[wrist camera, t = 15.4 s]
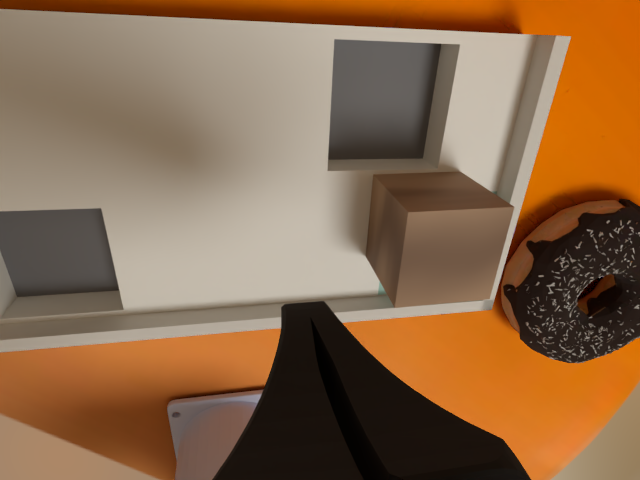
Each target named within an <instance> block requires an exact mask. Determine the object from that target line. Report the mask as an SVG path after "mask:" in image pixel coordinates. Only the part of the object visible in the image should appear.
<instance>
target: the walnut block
mask: <svg viewBox="0 0 640 480" xmlns="http://www.w3.org/2000/svg"><path fill="white" fill-rule="evenodd" d="M513 211H514V206H512V205H511V204H509V203H508V202H506V201H505V200H503V199H502V198H500V197H499V196H497V195H495V194H494V193H492V192H491V191H489V190H488V189H486V188H485V187H483V186H482V185H480V184H479V183H477V182H476V181H474V180H473V179H471V178H470V177H468V176H467V175H465V174H463V173H462V172H430V173H400V174H373V182H372V193H371V203H370V214H369V225H368V236H367V246H366V258H367V260H368V262H369V263H370V265H371V267H372V269H373V270H374V272H375V274H376V276H377V277H378V279H379V281H380V283H381V285H382V286H383V288H384V290H385V292H386V293H387V295H388V297H389V299H390V301H391V302H392V304H393V306H394V308H401V307H411V306H422V305H433V304H443V303H454V302H465V301H476V300H486V299H490V296H491V292H492V289H493V285H494V281H495V278H496V274H497V270H498V267H499V263H500V259H501V255H502V252H503V248H504V244H505V241H506V237H507V233H508V229H509V226H510V222H511V218H512V215H513Z"/></svg>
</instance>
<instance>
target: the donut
mask: <svg viewBox="0 0 640 480" xmlns="http://www.w3.org/2000/svg"><path fill="white" fill-rule="evenodd" d="M598 277H599V278H601V277H603V278H602V279H601V280H600V281H599V282H598V284H597V285H596V287H595V288H594V290H593V291H591V292H590V293H589V294H587V295H586V296H585V297H583V298H581V299H579V300H578V296H579V294H580V293H581V292H582V291H583V290H584V288H585V287H586V286H587V285H588V284H589V283H590V282H591V281H593V280H595V279H596V278H598ZM501 300H502V306H503V310H504V312H505V314H506V316H507V318H508V320H509V322H510V324H511V326H512V327H513V328H514V329H515V330H516V331H517V332H518V333H519V334H520V339H521V340H522V341H523V342H524V343H525V344H526V345H527V346H529V347H530V348H531V349H533V350H534V351H536V352H538V353H541V354H543V355H545V356H547V357H549V358H550V359H554V360H559V361H563V362H567V363H581V362H582V363H583V362H585V361H588V360H591V359H594V358H597V357H600V356H604V355H606V354H608V353H612V352H613V351H615V350H619V348H621V347H623V346H625V345H626V344H629V343H630V342H631V341H633V340H634V339H636V338H639V337H640V207H639V206H638V205H636V204H635V203H633V202H631V201H630V200H626V199H620V200H619V201H616V200H604V201H588V202H584V203H581V204H578V205H575V206H572V207H569V208H566V209H563V210H561V211H559V212H558V213H556V214H555V215H553V216H552V217H550V218H549V219H547V220H546V221H544V222H543V223H541V224H540V225H539V226H538V227H537V228H536V229H535V230H534V231H533V232H531V233H530V234H529V235H528V236H527V237H526V238H525V239H524V240H523V241H522V242H521V244H520V245H519V247H518V248H517V250H516V251H515V253H514V254H513V256H512V257H511V259H510V260H509V262H508V263H507V265H506V267H505V272H504V276H503V280H502V284H501Z"/></svg>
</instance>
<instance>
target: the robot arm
mask: <svg viewBox="0 0 640 480" xmlns="http://www.w3.org/2000/svg"><path fill="white" fill-rule="evenodd" d="M167 412H168V417H169V423H170V428H171V433H172V439H173V444H174V449H175V455H176V460H177V465H176V473H175V480H531V479H530V477H529V476H528V474H527V473H526V471H525V469H524V468H523V466H522V465H521V463H520V462H519V460H518V459H517V457H516V456H515V454H514V453H513V452H512V450H511V449H510V448H509V447H508V445H507V444H506V443H505V441H504V440H503V439H501V438H499V437H497V436H495V435H493V434H491V433H489V432H487V431H485V430H483V429H481V428H479V427H476V426H474V425H472V424H470V423H468V422H466V421H464V420H462V419H461V418H459V417H457V416H455V415H454V414H452V413H450V412H448V411H446V410H445V409H443V408H441V407H440V406H438V405H436V404H435V403H433V402H432V401H430V400H429V399H427V398H426V397H424V396H423V395H421V394H420V393H418V392H417V391H415V390H414V389H412V388H411V387H409V386H408V385H407V384H405V383H404V382H403V381H401V380H400V379H399V378H398V377H396V376H395V375H394V374H393V373H391V372H390V371H389V370H388V369H387V368H385V367H384V366H383V365H382V364H381V363H380V362H379V361H378V360H377V359H376V358H375V357H374V356H372V355H371V354H370V353H369V352H368V351H367V350H366V349H365V348H364V347H363V346H362V345H361V344H360V342H359V341H358V340H357V339H356V338H355V337H354V336H353V335H352V334H351V333H350V332H349V331H348V329H347V328H346V327H345V326H344V325H343V324H342V322H341V321H340V320H339V319H338V318H337V316H336V315H335V314H334V313H333V311H332V310H331V309H330V307H329V306H328V305H327V304H326V303H325V302H324V301H316V302H303V303H290V304H284V305H283V306H282V307H281V334H280V339H279V343H278V348H277V352H276V355H275V359H274V362H273V365H272V368H271V371H270V374H269V377H268V380H267V382H266V385H265V387H264V390H255V391H246V392H238V393H229V394H220V395H211V396H202V397H193V398H185V399H176V400H172V401H170V402H169V403H168V407H167ZM175 412H178V413H175Z"/></svg>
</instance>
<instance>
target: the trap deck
mask: <svg viewBox="0 0 640 480" xmlns="http://www.w3.org/2000/svg"><path fill="white" fill-rule="evenodd" d="M570 38H571V36H550V35H528V34H507V33H486V32H466V31H445V30H425V29H404V28H383V27H363V26H342V25H322V24H301V23H280V22H260V21H239V20H219V19H198V18H178V17H157V16H136V15H116V14H95V13H75V12H54V11H33V10H13V9H0V352H11V351H22V350H34V349H45V348H57V347H68V346H80V345H91V344H103V343H114V342H126V341H137V340H149V339H160V338H172V337H183V336H195V335H206V334H218V333H229V332H241V331H252V330H264V329H275V328H281V307H282V306H283V305H284V304H290V303H303V302H316V301H324V302H325V303H326V304H327V305H328V306H329V307H330V309H331V310H332V311H333V313H334V314H335V315H336V316H337V318H338V319H339V320H340V321H341V322H342V323H344V322H356V321H367V320H379V319H390V318H402V317H413V316H425V315H436V314H448V313H459V312H471V311H482V310H492V306H493V303H494V300H495V296H496V293H497V289H498V286H499V282H500V279H501V275H502V272H503V269H504V265H505V262H506V258H507V255H508V251H509V248H510V245H511V241H512V238H513V234H514V231H515V227H516V224H517V220H518V217H519V214H520V210H521V207H522V203H523V200H524V196H525V193H526V190H527V186H528V183H529V179H530V176H531V172H532V169H533V165H534V162H535V159H536V155H537V152H538V148H539V145H540V141H541V138H542V135H543V131H544V128H545V124H546V121H547V117H548V114H549V110H550V107H551V104H552V100H553V97H554V93H555V90H556V86H557V83H558V80H559V76H560V73H561V69H562V66H563V62H564V59H565V55H566V52H567V49H568V45H569V42H570ZM430 172H462V173H463V174H465V175H467V176H468V177H470V178H471V179H473V180H474V181H476V182H477V183H479V184H480V185H482V186H483V187H485V188H486V189H488V190H489V191H491V192H492V193H494V194H495V195H497V196H499V197H500V198H502V199H503V200H505V201H506V202H508V203H509V204H511V205H512V206H514V211H513V215H512V218H511V222H510V226H509V229H508V233H507V237H506V241H505V244H504V248H503V252H502V255H501V259H500V263H499V267H498V270H497V274H496V278H495V281H494V285H493V289H492V292H491V296H490V299H486V300H476V301H465V302H454V303H443V304H433V305H422V306H411V307H401V308H394V306H393V304H392V302H391V301H390V299H389V297H388V295H387V293H386V292H385V290H384V288H383V286H382V285H381V283H380V281H379V279H378V277H377V276H376V274H375V272H374V270H373V269H372V267H371V265H370V263H369V262H368V260H367V258H366V246H367V236H368V225H369V214H370V203H371V193H372V182H373V174H400V173H430Z"/></svg>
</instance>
